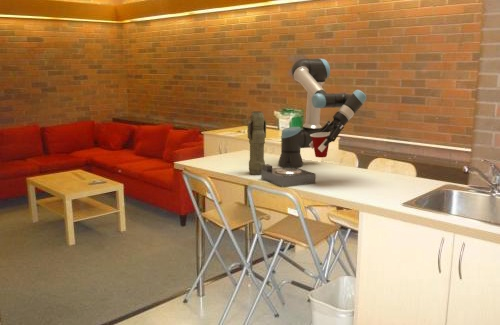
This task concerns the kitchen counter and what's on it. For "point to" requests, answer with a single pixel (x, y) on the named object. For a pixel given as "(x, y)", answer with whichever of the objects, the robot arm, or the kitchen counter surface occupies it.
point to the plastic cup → (319, 143)
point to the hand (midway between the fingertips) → (315, 148)
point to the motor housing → (287, 176)
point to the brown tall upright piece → (256, 142)
